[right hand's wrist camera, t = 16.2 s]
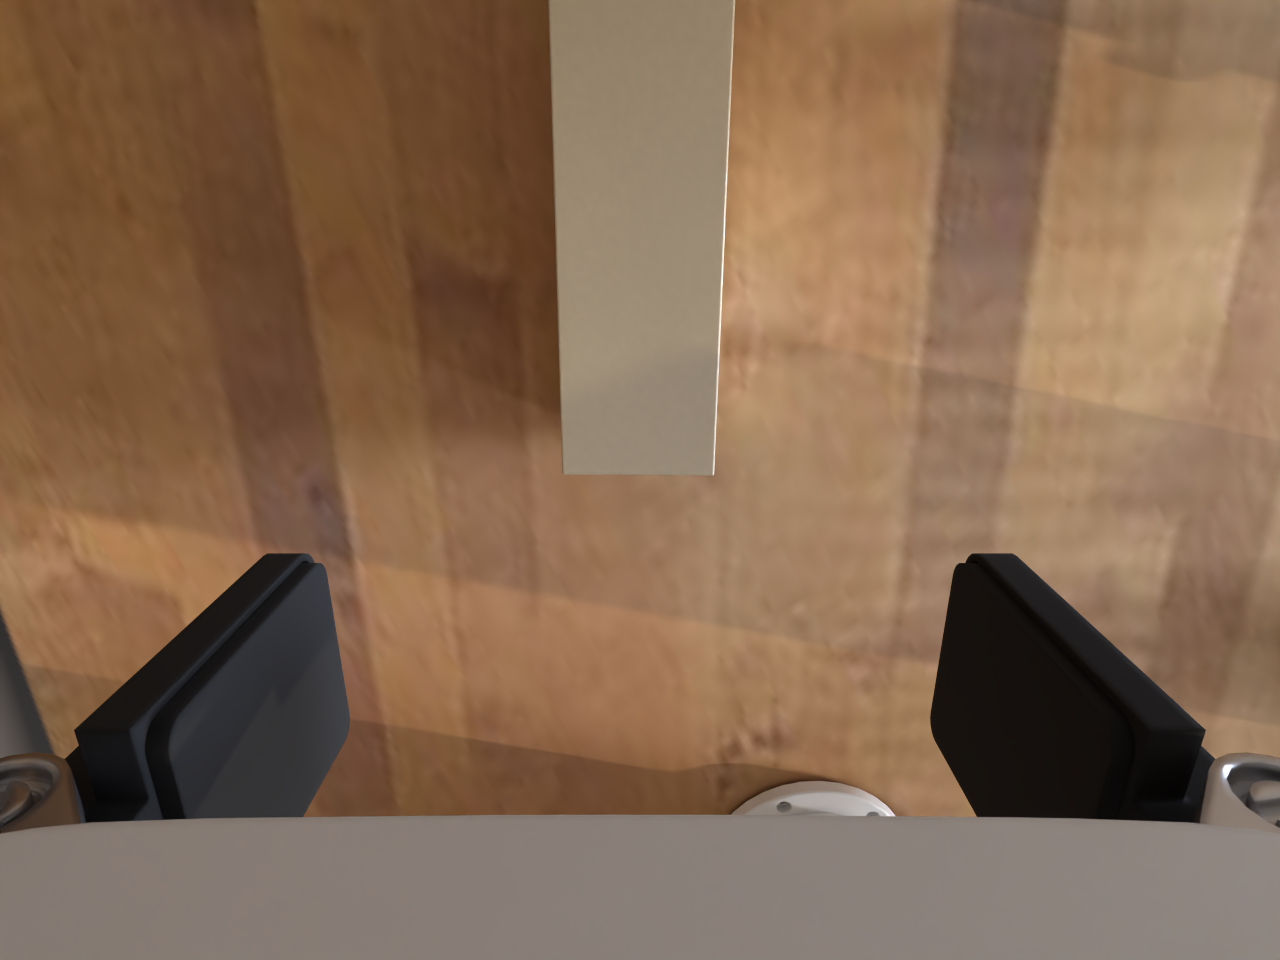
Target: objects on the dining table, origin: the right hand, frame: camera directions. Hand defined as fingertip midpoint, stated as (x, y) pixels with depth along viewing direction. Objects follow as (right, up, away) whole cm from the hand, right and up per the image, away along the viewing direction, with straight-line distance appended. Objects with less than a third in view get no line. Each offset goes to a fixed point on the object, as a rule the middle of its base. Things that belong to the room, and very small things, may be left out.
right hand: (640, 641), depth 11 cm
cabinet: (0, +15, +23) cm, 28 cm away
